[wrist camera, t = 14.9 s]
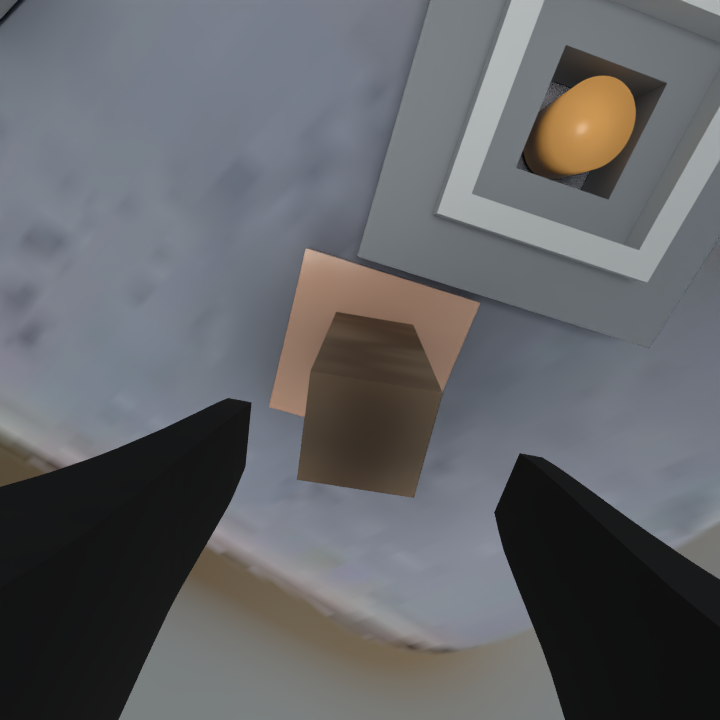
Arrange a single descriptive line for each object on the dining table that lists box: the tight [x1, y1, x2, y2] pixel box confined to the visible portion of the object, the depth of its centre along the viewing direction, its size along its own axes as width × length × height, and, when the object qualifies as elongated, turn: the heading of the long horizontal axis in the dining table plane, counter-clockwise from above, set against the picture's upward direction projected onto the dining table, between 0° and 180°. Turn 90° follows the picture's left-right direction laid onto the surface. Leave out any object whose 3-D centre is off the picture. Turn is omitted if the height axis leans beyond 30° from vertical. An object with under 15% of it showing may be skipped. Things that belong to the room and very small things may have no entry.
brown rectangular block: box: [297, 312, 443, 498], centre depth 15 cm, size 4×4×8 cm
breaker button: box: [523, 76, 636, 180], centre depth 14 cm, size 3×3×2 cm
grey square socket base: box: [357, 0, 720, 348], centre depth 14 cm, size 14×14×4 cm
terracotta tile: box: [269, 248, 480, 417], centre depth 19 cm, size 9×9×1 cm
